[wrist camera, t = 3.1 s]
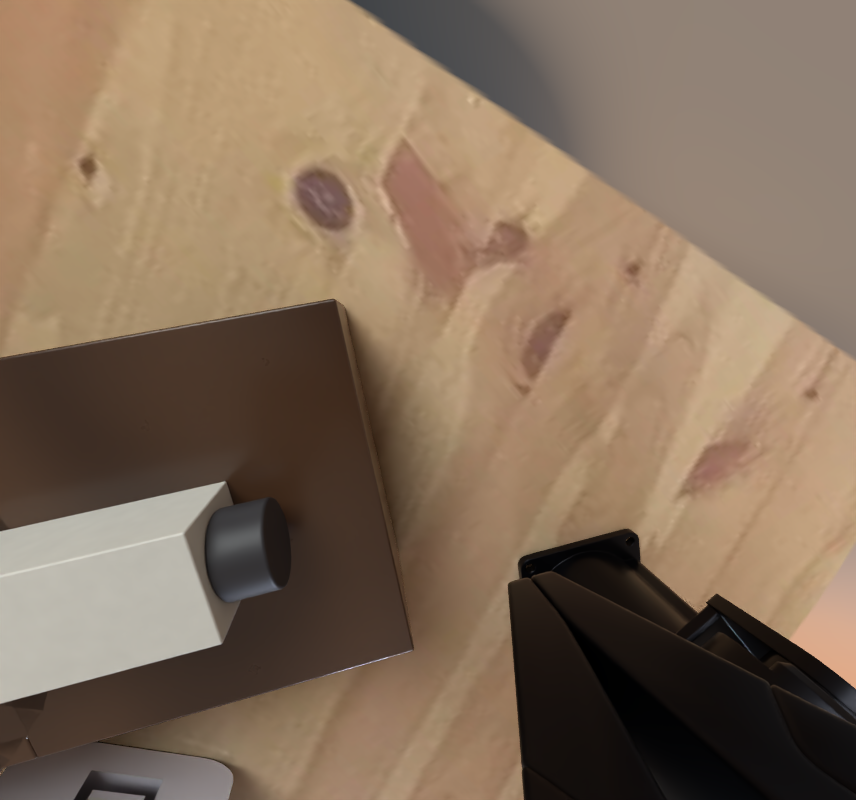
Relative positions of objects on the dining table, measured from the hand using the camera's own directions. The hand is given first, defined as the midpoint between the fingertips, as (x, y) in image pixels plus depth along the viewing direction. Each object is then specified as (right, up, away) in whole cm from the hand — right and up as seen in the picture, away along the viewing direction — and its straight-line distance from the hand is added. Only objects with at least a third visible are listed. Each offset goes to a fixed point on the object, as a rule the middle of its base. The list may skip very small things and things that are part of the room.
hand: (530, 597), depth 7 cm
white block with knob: (-11, -1, +4) cm, 12 cm away
